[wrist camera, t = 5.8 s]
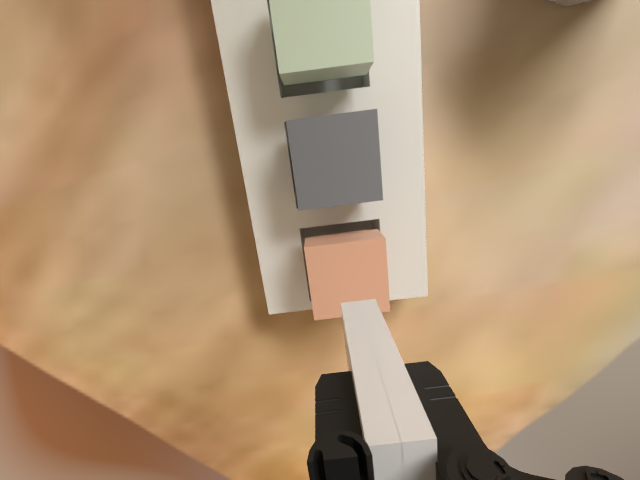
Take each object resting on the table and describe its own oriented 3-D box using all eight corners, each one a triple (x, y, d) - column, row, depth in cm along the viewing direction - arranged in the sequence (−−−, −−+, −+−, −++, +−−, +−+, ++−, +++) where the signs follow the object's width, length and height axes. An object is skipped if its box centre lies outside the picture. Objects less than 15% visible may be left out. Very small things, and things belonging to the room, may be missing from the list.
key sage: (274, 4, 18) (263, -41, 14) (354, -6, 17) (366, -56, 13) (286, 92, 19) (279, 74, 15) (361, 82, 19) (374, 61, 15)
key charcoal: (292, 128, 19) (286, 120, 15) (364, 119, 19) (377, 108, 15) (301, 201, 21) (298, 210, 17) (370, 192, 21) (383, 200, 17)
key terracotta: (305, 231, 21) (303, 247, 17) (372, 223, 21) (385, 237, 17) (314, 292, 22) (314, 320, 18) (377, 284, 22) (390, 311, 18)
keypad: (203, -116, 18) (177, -178, 15) (395, -143, 18) (413, -213, 15) (275, 294, 26) (268, 314, 22) (412, 278, 25) (427, 296, 22)
